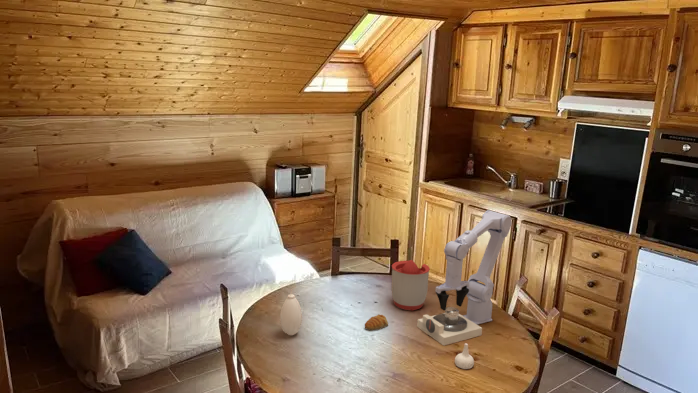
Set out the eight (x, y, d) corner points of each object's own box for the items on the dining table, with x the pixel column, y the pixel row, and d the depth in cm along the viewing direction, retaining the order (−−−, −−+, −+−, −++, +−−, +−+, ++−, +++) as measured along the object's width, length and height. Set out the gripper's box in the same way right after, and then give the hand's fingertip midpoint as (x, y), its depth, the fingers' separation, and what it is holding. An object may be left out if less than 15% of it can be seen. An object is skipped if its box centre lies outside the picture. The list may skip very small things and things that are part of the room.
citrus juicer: (434, 301, 223) (438, 257, 219) (417, 316, 209) (420, 269, 204) (401, 293, 231) (404, 250, 227) (382, 306, 217) (385, 261, 212)
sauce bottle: (305, 332, 193) (306, 286, 189) (294, 341, 186) (295, 294, 182) (287, 327, 196) (287, 282, 192) (276, 336, 189) (276, 290, 185)
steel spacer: (451, 318, 200) (452, 305, 199) (460, 323, 196) (461, 311, 194) (441, 320, 197) (442, 308, 196) (450, 326, 193) (451, 313, 192)
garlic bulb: (461, 372, 171) (464, 352, 168) (450, 361, 176) (453, 341, 174) (476, 369, 173) (480, 348, 171) (465, 358, 179) (469, 338, 176)
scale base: (453, 317, 209) (454, 302, 207) (481, 335, 195) (483, 319, 194) (416, 326, 200) (417, 311, 199) (442, 345, 187) (444, 329, 185)
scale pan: (451, 313, 206) (451, 311, 206) (474, 327, 195) (474, 325, 195) (425, 319, 200) (425, 317, 199) (447, 334, 188) (447, 332, 188)
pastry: (372, 334, 194) (373, 324, 193) (359, 327, 199) (360, 318, 198) (389, 326, 200) (389, 317, 200) (376, 320, 205) (376, 311, 204)
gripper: (445, 280, 186) (442, 315, 189) (476, 274, 193) (473, 308, 196) (433, 273, 192) (430, 307, 195) (463, 267, 199) (460, 300, 202)
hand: (451, 307), depth 196 cm, fingers open, 7 cm apart
